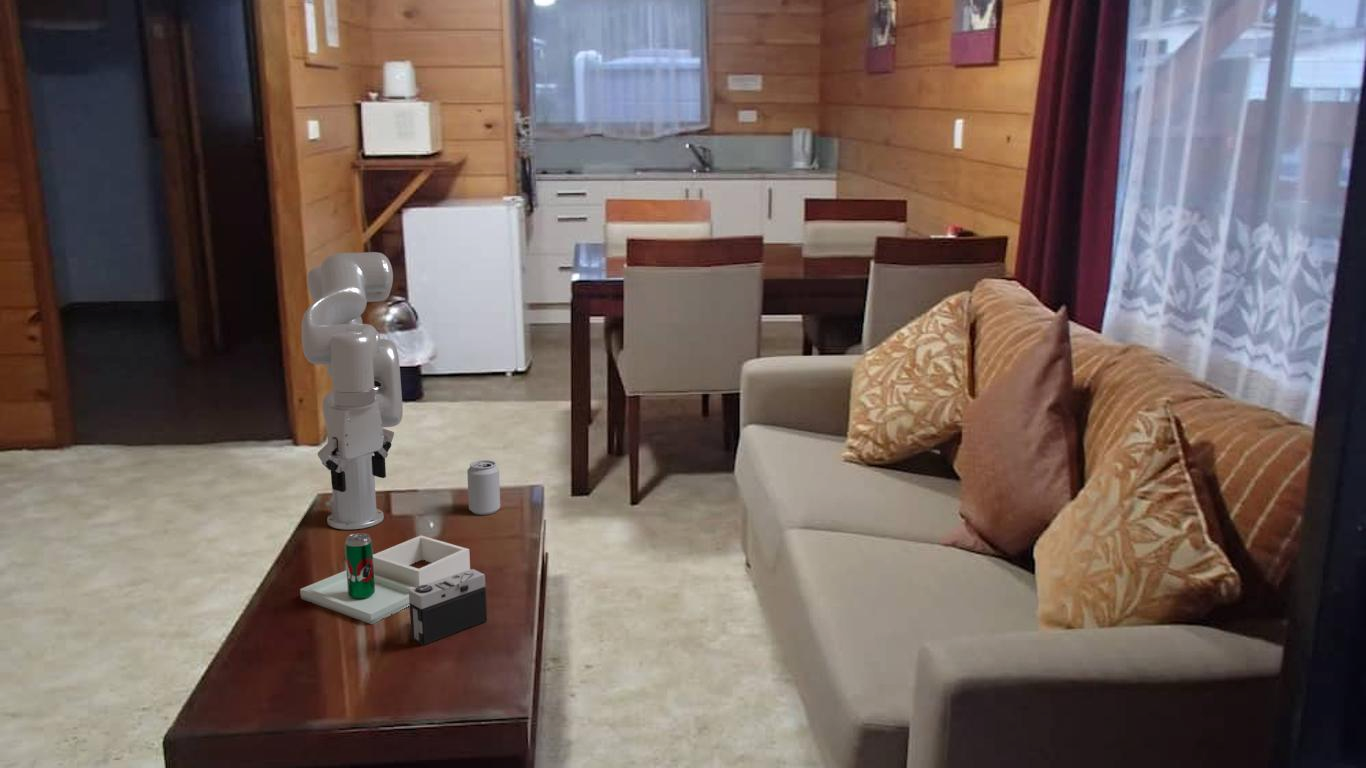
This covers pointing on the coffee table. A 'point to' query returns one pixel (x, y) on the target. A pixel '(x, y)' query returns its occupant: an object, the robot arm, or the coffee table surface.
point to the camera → (447, 606)
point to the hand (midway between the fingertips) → (359, 483)
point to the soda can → (359, 566)
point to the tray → (370, 609)
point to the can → (483, 487)
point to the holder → (439, 553)
